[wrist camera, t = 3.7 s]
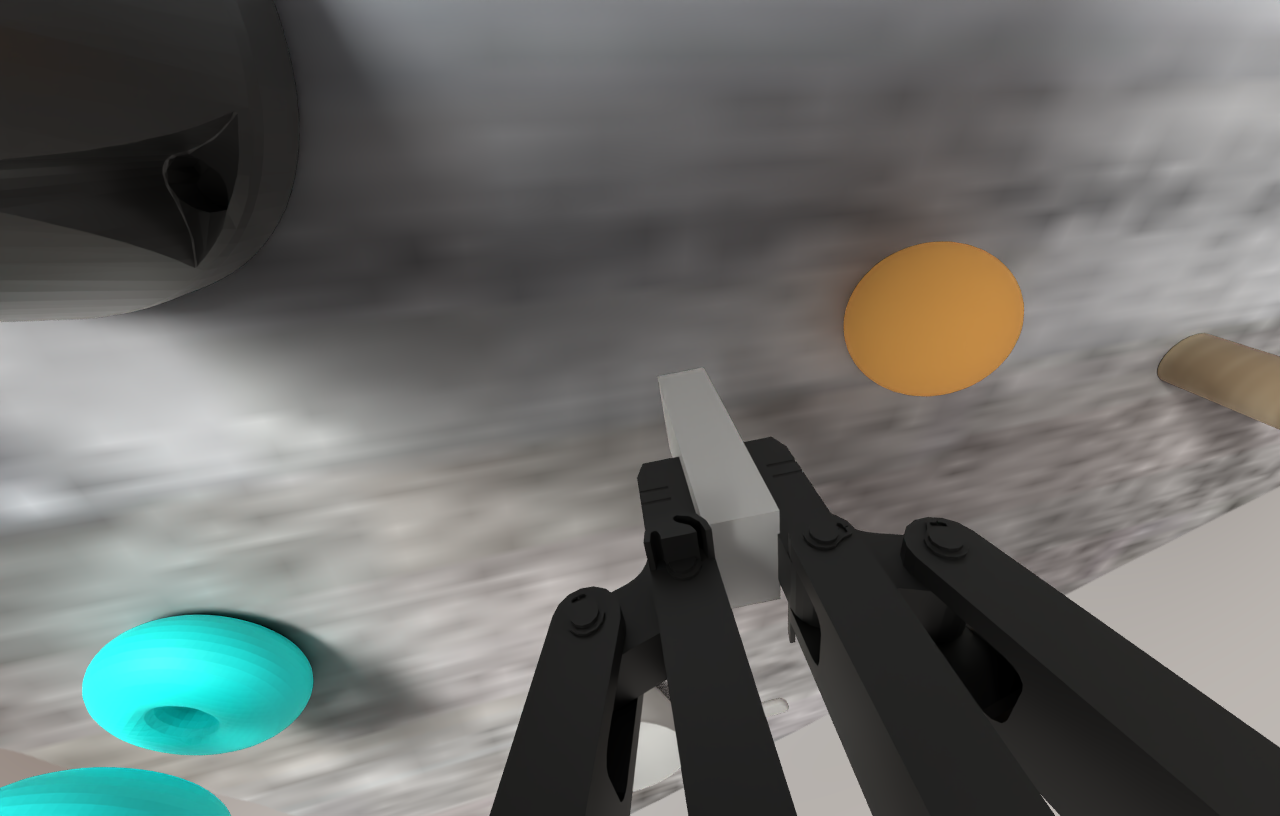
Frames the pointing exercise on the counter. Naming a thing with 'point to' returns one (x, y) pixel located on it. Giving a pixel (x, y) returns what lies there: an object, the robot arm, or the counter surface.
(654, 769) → the saucepan
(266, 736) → the donuts
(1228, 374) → the post
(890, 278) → the ball
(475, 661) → the counter surface
